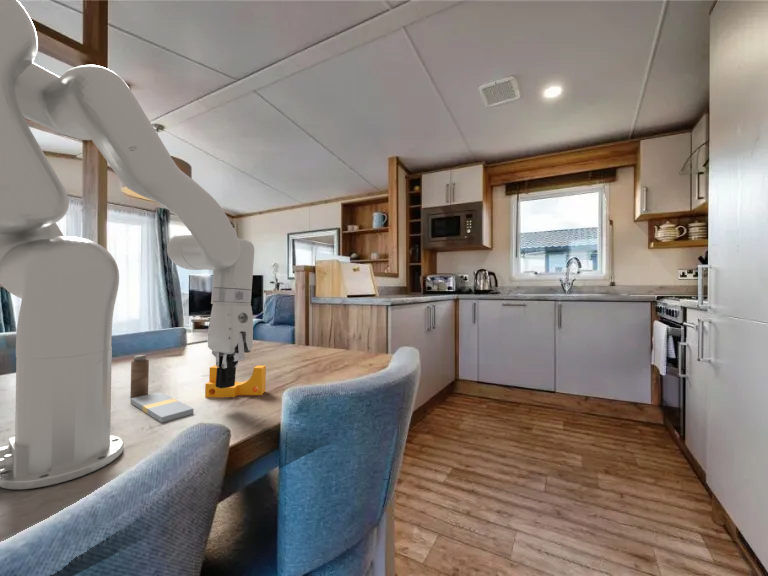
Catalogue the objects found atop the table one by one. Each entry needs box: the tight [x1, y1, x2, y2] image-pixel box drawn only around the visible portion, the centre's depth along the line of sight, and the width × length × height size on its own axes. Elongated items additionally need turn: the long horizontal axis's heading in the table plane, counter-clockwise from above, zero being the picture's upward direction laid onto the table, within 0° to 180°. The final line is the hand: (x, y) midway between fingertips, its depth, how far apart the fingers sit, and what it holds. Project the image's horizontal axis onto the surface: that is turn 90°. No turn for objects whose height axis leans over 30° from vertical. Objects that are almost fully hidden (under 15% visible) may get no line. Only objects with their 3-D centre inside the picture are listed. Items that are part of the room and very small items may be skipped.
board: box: [130, 391, 194, 424], centre depth 66 cm, size 6×16×1 cm, turn 54°
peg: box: [129, 354, 150, 399], centre depth 73 cm, size 3×3×9 cm
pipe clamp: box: [204, 364, 267, 399], centre depth 75 cm, size 12×4×6 cm, turn 91°
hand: (225, 386), depth 67 cm, fingers closed
